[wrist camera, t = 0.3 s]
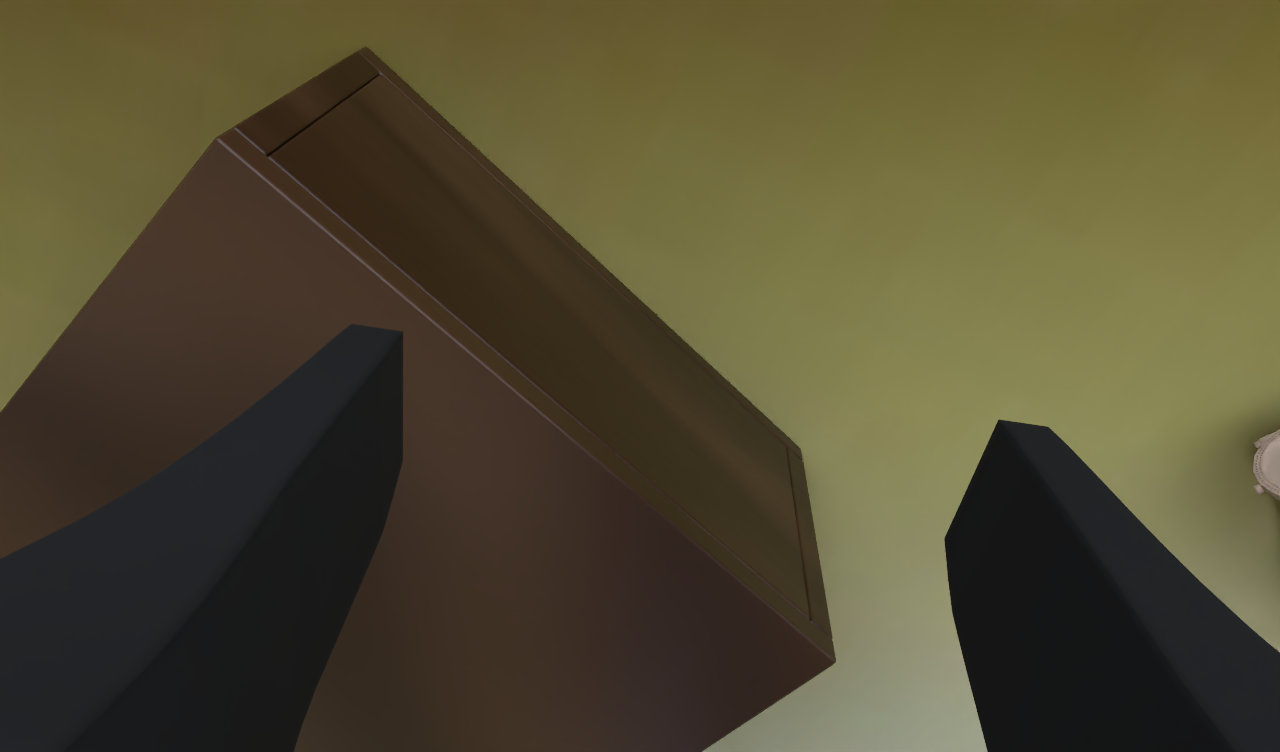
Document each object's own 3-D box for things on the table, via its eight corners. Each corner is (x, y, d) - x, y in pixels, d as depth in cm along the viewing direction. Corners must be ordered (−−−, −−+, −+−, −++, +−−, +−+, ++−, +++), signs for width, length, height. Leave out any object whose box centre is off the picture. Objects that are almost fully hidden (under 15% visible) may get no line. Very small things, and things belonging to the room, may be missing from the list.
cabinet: (431, 735, 30) (357, 981, 23) (27, 456, 26) (-195, 659, 19) (802, 448, 24) (838, 663, 18) (366, 44, 20) (216, 135, 14)
